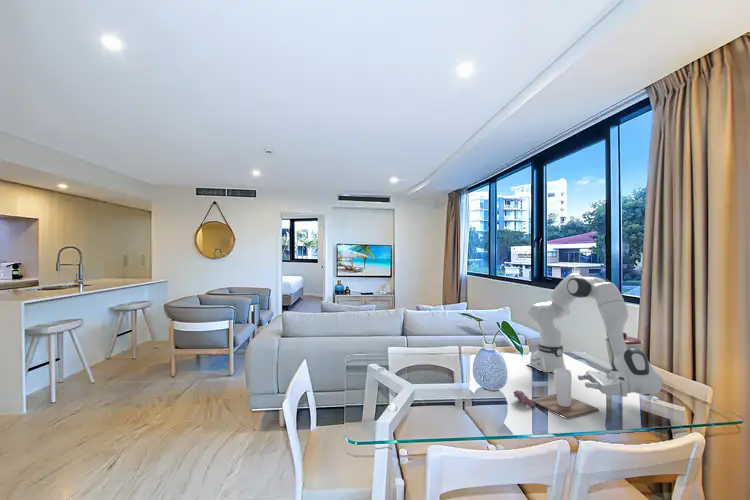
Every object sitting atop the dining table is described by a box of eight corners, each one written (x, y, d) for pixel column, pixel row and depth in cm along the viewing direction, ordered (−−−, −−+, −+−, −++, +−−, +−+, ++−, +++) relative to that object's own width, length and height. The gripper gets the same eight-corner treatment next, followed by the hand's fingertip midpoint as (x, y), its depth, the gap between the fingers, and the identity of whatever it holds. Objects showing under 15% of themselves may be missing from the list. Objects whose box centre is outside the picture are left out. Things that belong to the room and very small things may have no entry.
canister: (598, 368, 207) (596, 331, 208) (619, 363, 214) (617, 328, 215) (631, 377, 191) (629, 337, 191) (653, 372, 198) (650, 333, 198)
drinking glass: (575, 408, 155) (573, 373, 155) (558, 408, 156) (556, 373, 156) (569, 401, 161) (567, 368, 161) (553, 401, 162) (551, 368, 162)
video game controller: (516, 403, 169) (509, 390, 169) (525, 398, 170) (517, 385, 169) (528, 412, 159) (520, 398, 159) (536, 406, 160) (529, 392, 160)
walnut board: (530, 401, 166) (529, 399, 166) (559, 394, 172) (559, 392, 172) (566, 419, 147) (566, 416, 147) (598, 410, 154) (598, 408, 154)
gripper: (607, 367, 166) (573, 366, 169) (627, 382, 146) (589, 381, 149) (608, 381, 165) (574, 380, 168) (628, 398, 145) (590, 397, 148)
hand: (581, 381), depth 158 cm, fingers open, 8 cm apart
